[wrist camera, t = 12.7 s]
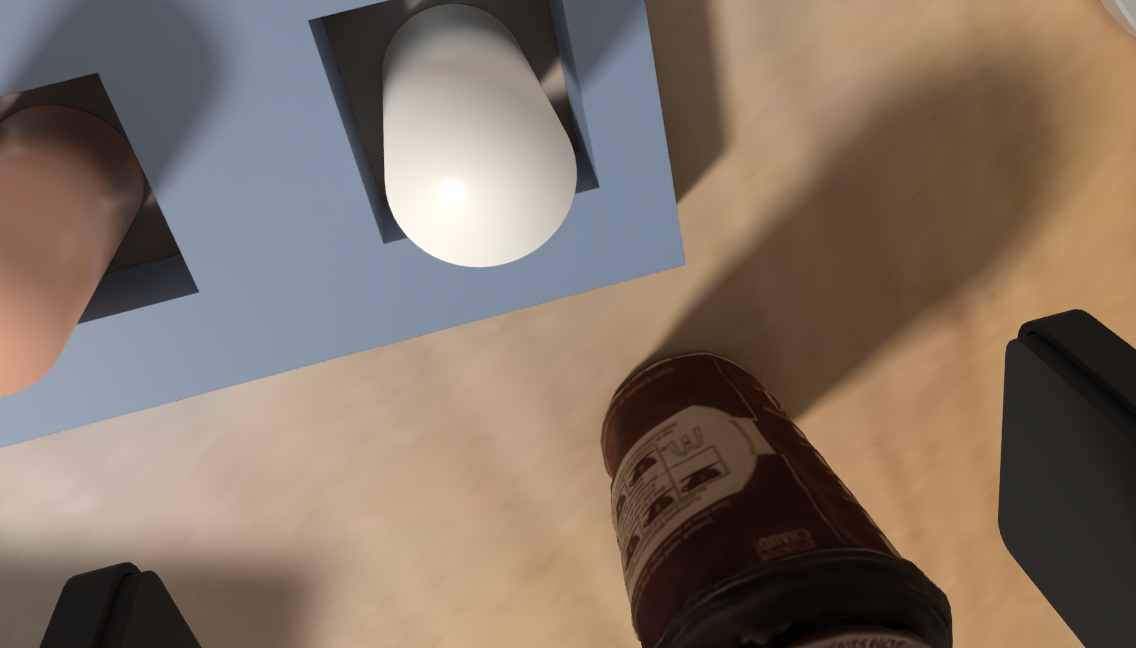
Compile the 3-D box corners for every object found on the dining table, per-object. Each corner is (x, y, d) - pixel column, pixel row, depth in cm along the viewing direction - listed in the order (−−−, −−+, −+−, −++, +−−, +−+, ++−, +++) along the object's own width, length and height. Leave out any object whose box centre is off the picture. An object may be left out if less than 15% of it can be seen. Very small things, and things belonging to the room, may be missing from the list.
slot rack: (587, -204, 24) (615, -202, 21) (659, 223, 30) (687, 267, 27) (-259, 0, 23) (-345, 30, 20) (-6, 399, 29) (-45, 463, 26)
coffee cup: (522, 488, 34) (593, 827, 23) (620, 292, 31) (757, 578, 20) (727, 537, 37) (877, 858, 26) (836, 363, 34) (1060, 646, 23)
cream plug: (507, -13, 26) (554, 63, 19) (539, 126, 28) (593, 240, 21) (363, 24, 26) (359, 114, 19) (405, 161, 28) (416, 287, 21)
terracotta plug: (105, 88, 25) (6, 203, 19) (167, 223, 27) (99, 371, 21) (-46, 126, 25) (-202, 256, 18) (28, 258, 27) (-87, 420, 20)
